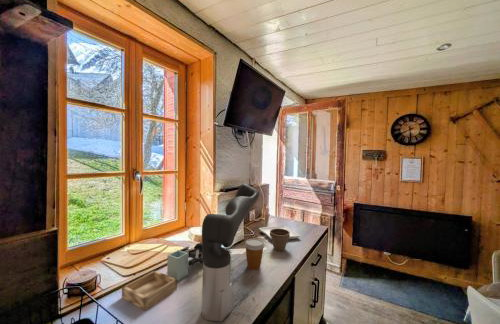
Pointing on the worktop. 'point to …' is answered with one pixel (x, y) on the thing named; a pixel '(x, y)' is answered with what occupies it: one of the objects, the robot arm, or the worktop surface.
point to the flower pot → (279, 238)
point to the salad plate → (267, 229)
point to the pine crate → (149, 289)
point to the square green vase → (177, 265)
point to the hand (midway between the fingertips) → (181, 261)
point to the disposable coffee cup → (254, 253)
